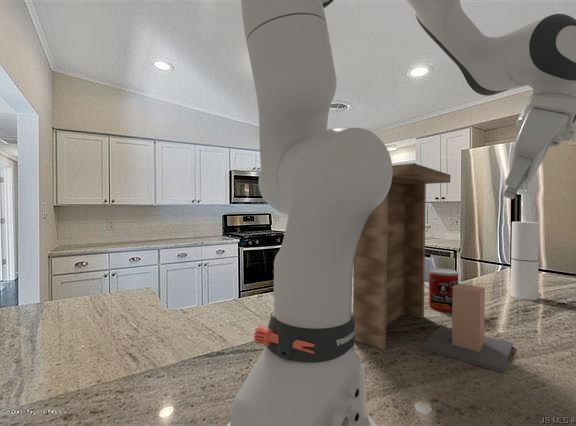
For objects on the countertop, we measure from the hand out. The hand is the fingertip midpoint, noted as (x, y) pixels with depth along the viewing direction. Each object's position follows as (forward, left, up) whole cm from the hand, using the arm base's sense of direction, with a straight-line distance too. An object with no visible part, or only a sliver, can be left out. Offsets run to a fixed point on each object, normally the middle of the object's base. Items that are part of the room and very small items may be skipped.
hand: (508, 191), depth 56 cm
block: (+6, +6, -32) cm, 33 cm away
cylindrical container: (+59, -9, -33) cm, 68 cm away
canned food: (+32, +13, -33) cm, 48 cm away
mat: (+6, +6, -32) cm, 34 cm away
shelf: (+8, +19, -32) cm, 38 cm away
